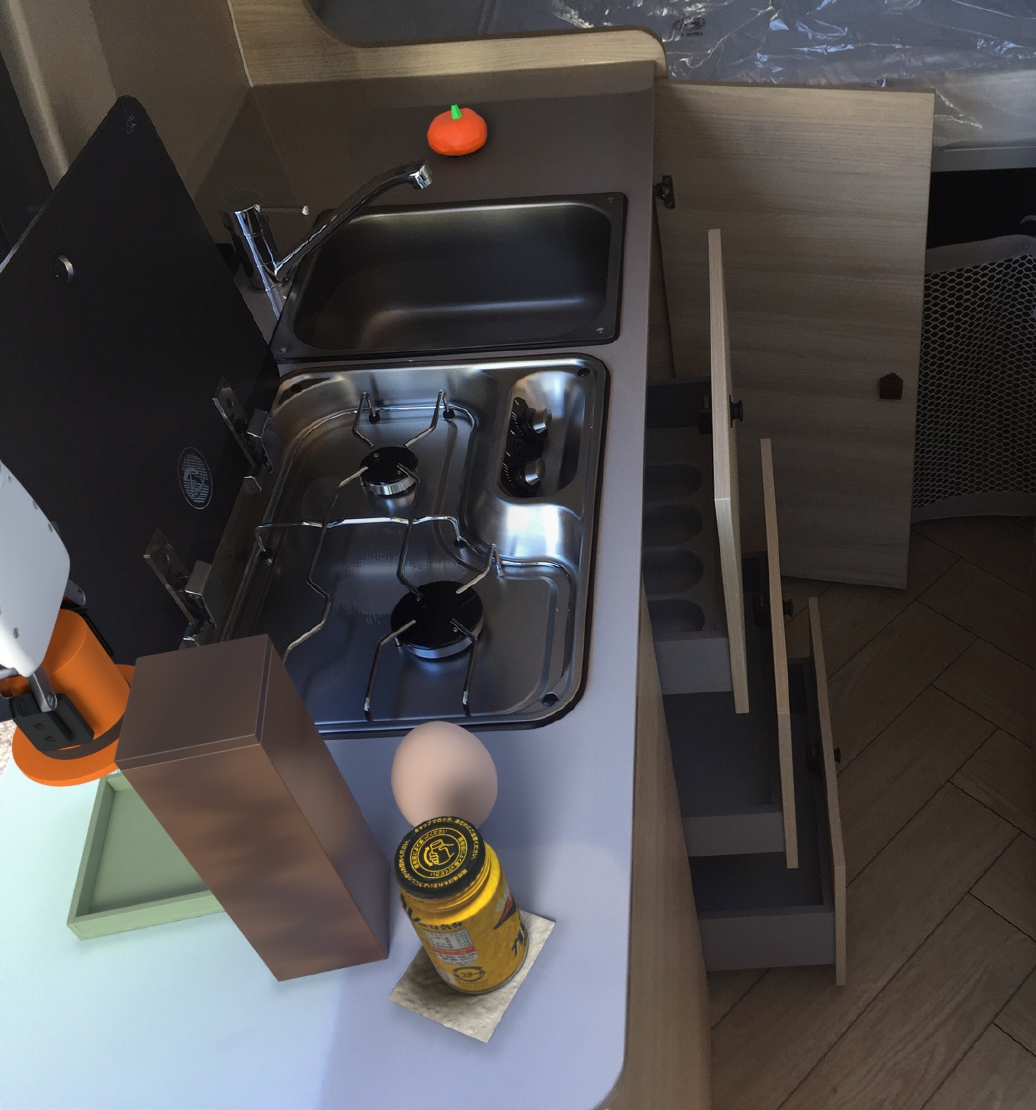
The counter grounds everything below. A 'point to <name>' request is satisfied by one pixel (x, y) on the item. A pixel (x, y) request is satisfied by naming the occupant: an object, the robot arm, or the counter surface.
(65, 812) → the counter surface
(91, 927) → the tray
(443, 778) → the egg
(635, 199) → the counter surface
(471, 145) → the pumpkin
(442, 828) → the condiment
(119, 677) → the hat
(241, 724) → the stand
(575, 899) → the counter surface
